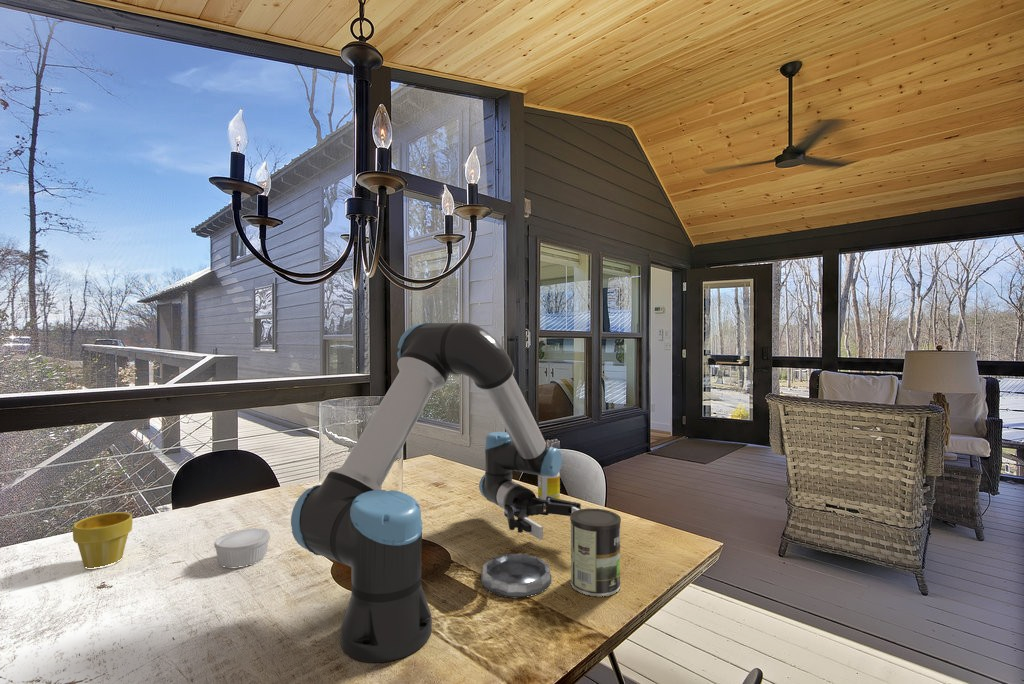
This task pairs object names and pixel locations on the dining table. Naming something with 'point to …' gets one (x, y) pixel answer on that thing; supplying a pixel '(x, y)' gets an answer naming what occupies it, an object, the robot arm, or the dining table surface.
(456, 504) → the dining table surface
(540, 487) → the supplement bottle
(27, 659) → the dining table surface
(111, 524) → the plant pot
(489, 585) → the shallow dark gray bowl
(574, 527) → the coffee can
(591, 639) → the dining table surface
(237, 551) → the ramekin
